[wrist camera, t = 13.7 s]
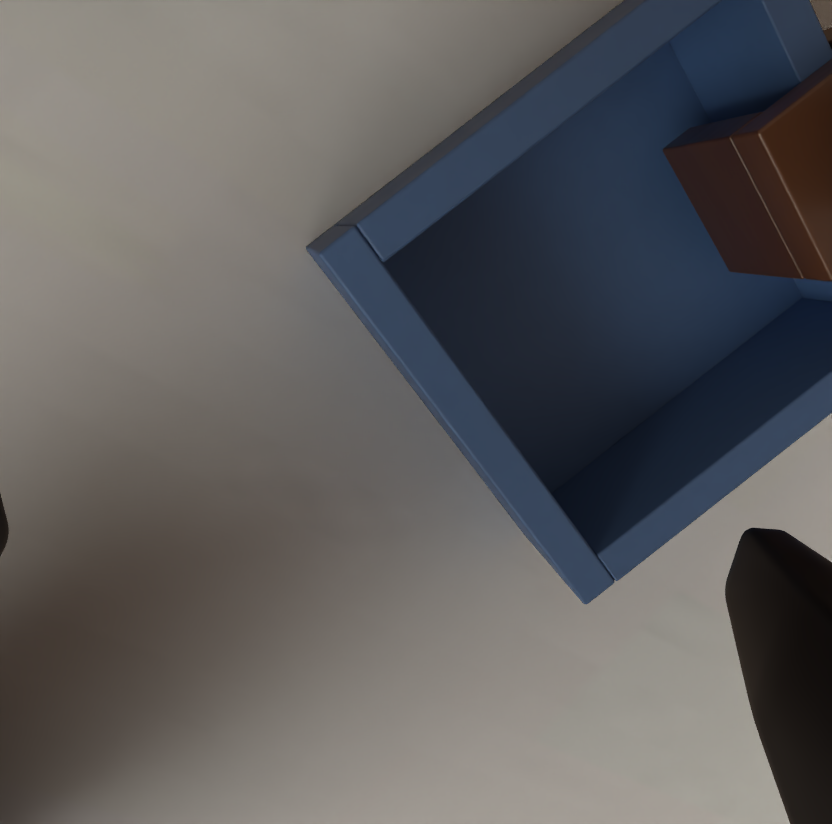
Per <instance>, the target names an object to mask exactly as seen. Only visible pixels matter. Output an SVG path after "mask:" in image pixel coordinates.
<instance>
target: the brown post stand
mask: <svg viewBox="0 0 832 824" xmlns="http://www.w3.org/2000/svg"><path fill="white" fill-rule="evenodd" d="M823 32H824V34H825V36H826V38H827V41H828V43H829V45H830V47H831V50H832V28H829V29H826V30H823ZM663 153H664V154H665V156H666V158H667V160H668V162H669V163H670V165H671V167H672V169H673V171H674V172H675V174H676V176H677V178H678V180H679V181H680V183H681V185H682V187H683V189H684V190H685V192H686V194H687V196H688V198H689V199H690V201H691V203H692V205H693V207H694V208H695V210H696V212H697V214H698V216H699V217H700V219H701V221H702V223H703V225H704V226H705V228H706V230H707V232H708V234H709V235H710V237H711V239H712V241H713V243H714V244H715V246H716V248H717V250H718V252H719V253H720V255H721V257H722V259H723V261H724V262H725V264H726V266H727V268H728V270H729V271H730V272H735V273H745V274H755V275H765V276H775V277H785V278H795V279H804V278H806V279H809V280H819V281H829V282H832V59H831V60H829V61H828V62H827V63H825V64H824V65H823V66H822V67H820V68H819V69H818V70H816V71H815V72H814V73H813V74H811V75H810V76H809V77H807V78H806V79H805V80H804V81H802V82H801V83H800V84H798V85H797V86H796V87H795V88H793V89H792V90H791V91H789V92H788V93H787V94H786V95H784V96H783V97H782V98H780V99H779V100H778V101H777V102H775V103H774V104H773V105H771V106H770V107H769V108H768V109H766V110H765V111H764V112H757V113H753V114H748V115H744V116H739V117H735V118H731V119H726V120H722V121H717V122H713V123H708V124H704V125H699V126H695V127H691V128H689V129H688V130H686V131H685V132H684V133H682V134H681V135H680V136H679V137H677V138H676V139H675V140H673V141H672V142H671V143H670V144H668V145H667V146H666V147H664V149H663Z"/></svg>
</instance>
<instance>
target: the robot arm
mask: <svg viewBox="0 0 832 824" xmlns="http://www.w3.org/2000/svg"><path fill="white" fill-rule="evenodd" d="M8 534H9V527H8V522H7V518H6V514H5V510H4V506H3V502H2V498H1V494H0V556H1V554H2V552H3V550H4V548H5V546H6V543H7V540H8ZM725 596H726V603H727V607H728V612H729V616H730V620H731V625H732V629H733V634H734V638H735V642H736V647H737V651H738V655H739V660H740V664H741V668H742V673H743V677H744V681H745V686H746V690H747V694H748V699H749V702H750V706H751V710H752V714H753V718H754V721H755V724H756V727H757V730H758V733H759V736H760V739H761V742H762V745H763V748H764V750H765V753H766V756H767V759H768V762H769V765H770V767H771V770H772V773H773V776H774V779H775V782H776V784H777V787H778V790H779V793H780V796H781V799H782V801H783V804H784V807H785V810H786V813H787V816H788V818H789V821H790V824H832V562H830V561H829V560H827V559H826V558H824V557H823V556H821V555H820V554H818V553H817V552H815V551H814V550H812V549H811V548H809V547H808V546H806V545H805V544H803V543H802V542H800V541H799V540H797V539H796V538H794V537H793V536H791V535H790V534H788V533H787V532H785V531H782V530H776V529H762V528H750V529H748V530H746V531H745V532H744V533H743V535H742V536H741V539H740V541H739V544H738V547H737V550H736V553H735V556H734V559H733V562H732V565H731V568H730V571H729V574H728V577H727V581H726V587H725Z"/></svg>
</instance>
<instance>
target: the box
mask: <svg viewBox="0 0 832 824" xmlns="http://www.w3.org/2000/svg"><path fill="white" fill-rule="evenodd" d="M831 59H832V50H831V47H830V45H829V43H828V41H827V38H826V36H825V34H824V32H823V30H822V27H821V25H820V23H819V21H818V18H817V16H816V14H815V12H814V10H813V7H812V5H811V3H810V1H809V0H624V1H623V2H622V3H620V4H619V5H618V6H616V7H615V8H614V9H613V10H611V11H610V12H609V13H607V14H606V15H605V16H604V17H602V18H601V19H600V20H598V21H597V22H596V23H594V24H593V25H592V26H591V27H589V28H588V29H587V30H585V31H584V32H583V33H582V34H580V35H579V36H578V37H576V38H575V39H574V40H573V41H571V42H570V43H569V44H567V45H566V46H565V47H563V48H562V49H561V50H560V51H558V52H557V53H556V54H554V55H553V56H552V57H551V58H549V59H548V60H547V61H545V62H544V63H543V64H542V65H540V66H539V67H538V68H536V69H535V70H534V71H532V72H531V73H530V74H529V75H527V76H526V77H525V78H523V79H522V80H521V81H520V82H518V83H517V84H516V85H514V86H513V87H512V88H511V89H509V90H508V91H507V92H505V93H504V94H503V95H501V96H500V97H499V98H498V99H496V100H495V101H494V102H492V103H491V104H490V105H489V106H487V107H486V108H485V109H483V110H482V111H481V112H480V113H478V114H477V115H476V116H474V117H473V118H472V119H470V120H469V121H468V122H467V123H465V124H464V125H463V126H461V127H460V128H459V129H458V130H456V131H455V132H454V133H452V134H451V135H450V136H449V137H447V138H446V139H445V140H443V141H442V142H441V143H439V144H438V145H437V146H436V147H434V148H433V149H432V150H430V151H429V152H428V153H427V154H425V155H424V156H423V157H421V158H420V159H419V160H418V161H416V162H415V163H414V164H412V165H411V166H410V167H408V168H407V169H406V170H405V171H403V172H402V173H401V174H399V175H398V176H397V177H396V178H394V179H393V180H392V181H390V182H389V183H388V184H387V185H385V186H384V187H383V188H381V189H380V190H379V191H377V192H376V193H375V194H374V195H372V196H371V197H370V198H368V199H367V200H366V201H365V202H363V203H362V204H361V205H359V206H358V207H357V208H356V209H354V210H353V211H352V212H350V213H349V214H348V215H346V216H345V217H344V218H343V219H341V220H340V221H339V222H337V223H336V224H335V225H334V226H332V227H331V228H330V229H328V230H327V231H326V232H325V233H323V234H322V235H321V236H319V237H318V238H317V239H315V240H314V241H313V242H312V243H310V244H309V245H308V246H307V247H306V250H307V251H308V252H309V253H310V255H311V256H312V257H313V259H314V260H315V261H316V263H317V264H318V265H319V267H320V268H321V269H322V270H323V272H324V273H325V274H326V276H327V277H328V278H329V280H330V281H331V282H332V284H333V285H334V286H335V287H336V289H337V290H338V291H339V293H340V294H341V295H342V297H343V298H344V299H345V301H346V302H347V303H348V304H349V306H350V307H351V308H352V310H353V311H354V312H355V314H356V315H357V316H358V318H359V319H360V320H361V321H362V323H363V324H364V325H365V327H366V328H367V329H368V331H369V332H370V333H371V335H372V336H373V337H374V338H375V340H376V341H377V342H378V344H379V345H380V346H381V348H382V349H383V350H384V352H385V353H386V354H387V355H388V357H389V358H390V359H391V361H392V362H393V363H394V365H395V366H396V367H397V369H398V370H399V371H400V372H401V374H402V375H403V376H404V378H405V379H406V380H407V382H408V383H409V384H410V386H411V387H412V388H413V389H414V391H415V392H416V393H417V395H418V396H419V397H420V399H421V400H422V401H423V403H424V404H425V405H426V406H427V408H428V409H429V410H430V412H431V413H432V414H433V416H434V417H435V418H436V420H437V421H438V422H439V423H440V425H441V426H442V427H443V429H444V430H445V431H446V433H447V434H448V435H449V437H450V438H451V439H452V440H453V442H454V443H455V444H456V446H457V447H458V448H459V450H460V451H461V452H462V454H463V455H464V456H465V457H466V459H467V460H468V461H469V463H470V464H471V465H472V467H473V468H474V469H475V471H476V472H477V473H478V474H479V476H480V477H481V478H482V480H483V481H484V482H485V484H486V485H487V486H488V488H489V489H490V490H491V491H492V493H493V494H494V495H495V497H496V498H497V499H498V501H499V502H500V503H501V504H502V506H503V507H504V508H505V510H506V511H507V512H508V514H509V515H510V516H511V518H512V519H513V520H514V521H515V523H516V524H517V525H518V527H519V528H520V529H521V531H522V532H523V533H524V535H525V536H526V537H527V538H528V539H529V541H530V542H531V543H532V544H533V545H534V546H535V548H536V549H537V550H538V551H539V552H540V553H541V555H542V556H543V557H544V558H545V559H546V560H547V562H548V563H549V564H550V565H551V566H552V567H553V569H554V570H555V571H556V572H557V573H558V574H559V576H560V577H561V578H562V579H563V580H564V582H565V583H566V584H567V585H568V586H569V587H570V589H571V590H572V591H573V592H574V593H575V594H576V596H577V597H578V598H579V599H580V600H581V601H582V603H584V604H588V603H589V602H591V601H592V600H593V599H594V598H596V597H597V596H598V595H600V594H601V593H602V592H603V591H605V590H606V589H607V588H608V587H610V586H611V585H612V584H613V583H614V580H616V581H618V580H619V579H621V578H622V577H623V576H624V575H626V574H627V573H628V572H629V571H631V570H632V569H633V568H635V567H636V566H637V565H638V564H640V563H641V562H642V561H643V560H645V559H646V558H647V557H649V556H650V555H651V554H652V553H654V552H655V551H656V550H658V549H659V548H660V547H661V546H663V545H664V544H665V543H666V542H668V541H669V540H670V539H672V538H673V537H674V536H675V535H677V534H678V533H679V532H680V531H682V530H683V529H684V528H686V527H687V526H688V525H689V524H691V523H692V522H693V521H694V520H696V519H697V518H698V517H700V516H701V515H702V514H703V513H705V512H706V511H707V510H708V509H710V508H711V507H712V506H714V505H715V504H716V503H717V502H719V501H720V500H721V499H722V498H724V497H725V496H726V495H728V494H729V493H730V492H731V491H733V490H734V489H735V488H736V487H738V486H739V485H740V484H742V483H743V482H744V481H745V480H747V479H748V478H749V477H751V476H752V475H753V474H754V473H756V472H757V471H758V470H759V469H761V468H762V467H763V466H765V465H766V464H767V463H768V462H770V461H771V460H772V459H773V458H775V457H776V456H777V455H779V454H780V453H781V452H782V451H784V450H785V449H786V448H787V447H789V446H790V445H791V444H793V443H794V442H795V441H796V440H798V439H799V438H800V437H801V436H803V435H804V434H805V433H807V432H808V431H809V430H810V429H812V428H813V427H814V426H815V425H817V424H818V423H819V422H821V421H822V420H823V419H824V418H826V417H827V416H828V415H830V414H831V413H832V282H829V281H819V280H809V279H806V278H804V279H795V278H785V277H775V276H765V275H755V274H745V273H735V272H730V271H729V270H728V268H727V266H726V264H725V262H724V261H723V259H722V257H721V255H720V253H719V252H718V250H717V248H716V246H715V244H714V243H713V241H712V239H711V237H710V235H709V234H708V232H707V230H706V228H705V226H704V225H703V223H702V221H701V219H700V217H699V216H698V214H697V212H696V210H695V208H694V207H693V205H692V203H691V201H690V199H689V198H688V196H687V194H686V192H685V190H684V189H683V187H682V185H681V183H680V181H679V180H678V178H677V176H676V174H675V172H674V171H673V169H672V167H671V165H670V163H669V162H668V160H667V158H666V156H665V154H664V153H663V149H664V147H666V146H667V145H668V144H670V143H671V142H672V141H673V140H675V139H676V138H677V137H679V136H680V135H681V134H682V133H684V132H685V131H686V130H688V129H689V128H691V127H695V126H699V125H704V124H708V123H713V122H717V121H722V120H726V119H731V118H735V117H739V116H744V115H748V114H753V113H757V112H764V111H765V110H766V109H768V108H769V107H770V106H771V105H773V104H774V103H775V102H777V101H778V100H779V99H780V98H782V97H783V96H784V95H786V94H787V93H788V92H789V91H791V90H792V89H793V88H795V87H796V86H797V85H798V84H800V83H801V82H802V81H804V80H805V79H806V78H807V77H809V76H810V75H811V74H813V73H814V72H815V71H816V70H818V69H819V68H820V67H822V66H823V65H824V64H825V63H827V62H828V61H829V60H831Z"/></svg>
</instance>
